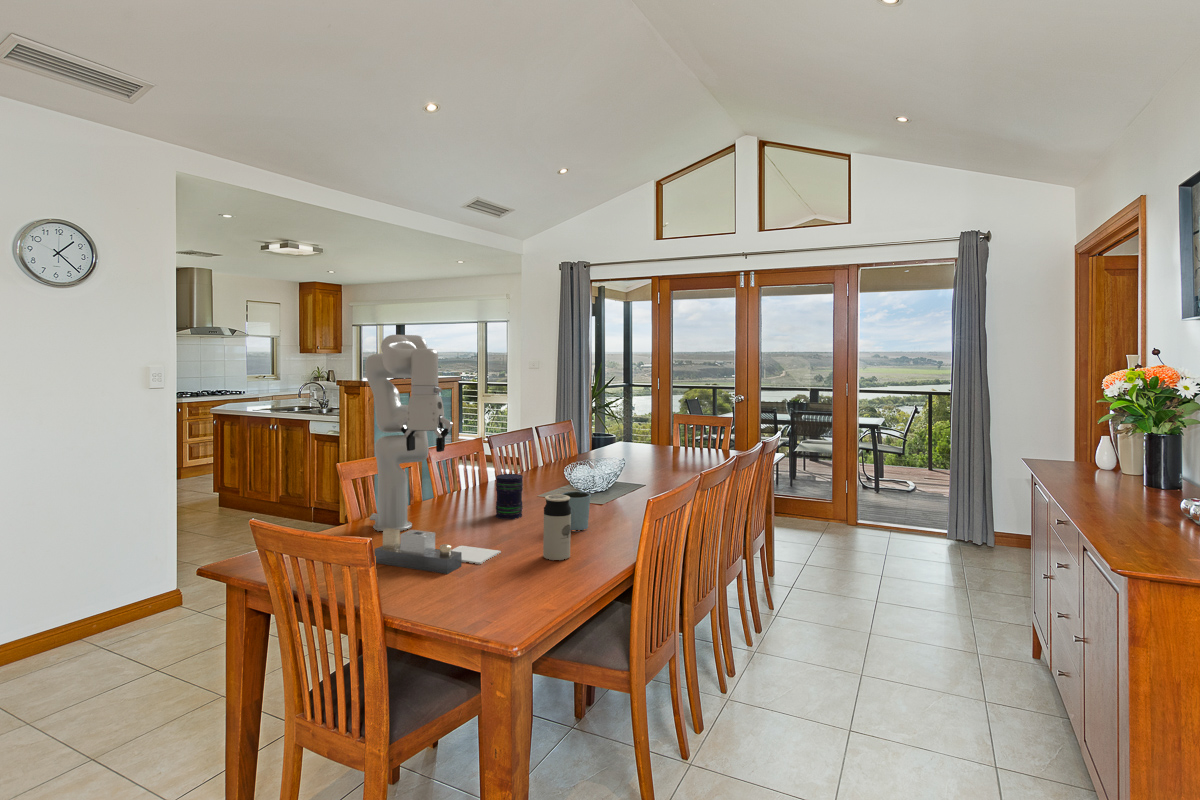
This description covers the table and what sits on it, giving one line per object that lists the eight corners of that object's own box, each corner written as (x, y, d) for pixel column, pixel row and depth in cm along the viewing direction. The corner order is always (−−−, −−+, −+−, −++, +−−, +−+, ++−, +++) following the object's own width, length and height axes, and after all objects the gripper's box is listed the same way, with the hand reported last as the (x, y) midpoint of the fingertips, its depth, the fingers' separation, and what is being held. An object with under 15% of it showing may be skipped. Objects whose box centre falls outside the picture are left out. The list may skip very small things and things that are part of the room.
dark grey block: (374, 562, 182) (374, 531, 181) (390, 555, 188) (390, 525, 188) (447, 574, 174) (447, 541, 173) (461, 566, 180) (461, 534, 180)
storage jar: (492, 514, 241) (492, 474, 240) (517, 511, 245) (518, 473, 244) (499, 520, 232) (500, 479, 231) (525, 518, 236) (526, 477, 235)
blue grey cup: (591, 525, 227) (592, 491, 227) (588, 533, 217) (588, 498, 217) (563, 524, 228) (563, 490, 228) (558, 531, 218) (559, 496, 218)
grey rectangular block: (400, 551, 180) (400, 533, 179) (411, 546, 184) (411, 529, 184) (424, 554, 177) (424, 537, 177) (435, 550, 182) (435, 532, 181)
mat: (438, 558, 187) (438, 556, 187) (460, 547, 198) (460, 545, 198) (480, 564, 182) (480, 562, 182) (500, 552, 193) (500, 550, 193)
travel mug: (537, 556, 191) (538, 496, 190) (559, 551, 196) (560, 493, 195) (553, 563, 185) (554, 501, 184) (575, 557, 190) (576, 497, 189)
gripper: (458, 391, 186) (458, 450, 186) (406, 391, 191) (407, 448, 191) (444, 392, 179) (445, 453, 179) (391, 391, 184) (392, 451, 184)
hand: (425, 450), depth 185 cm, fingers open, 9 cm apart
